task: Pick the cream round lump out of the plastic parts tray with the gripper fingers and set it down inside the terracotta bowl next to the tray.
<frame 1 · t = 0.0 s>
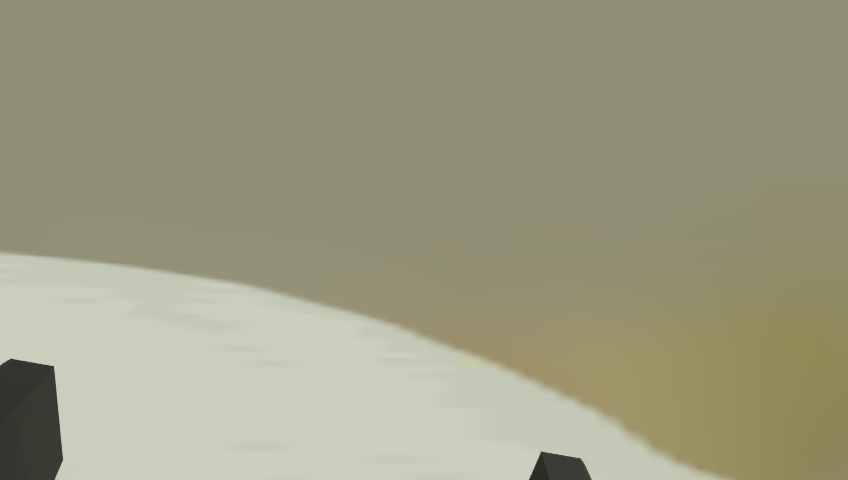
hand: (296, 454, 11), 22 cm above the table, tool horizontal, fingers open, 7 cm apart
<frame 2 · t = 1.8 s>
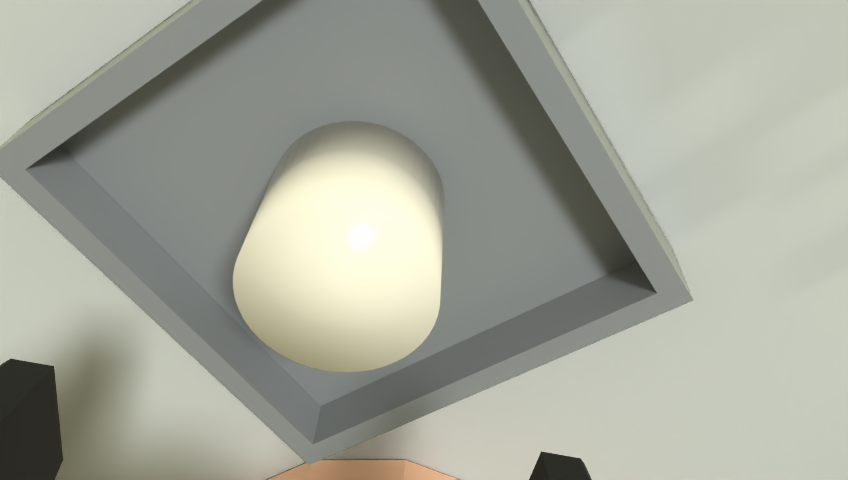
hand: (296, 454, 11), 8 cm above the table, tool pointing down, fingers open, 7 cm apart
cream round lump: (358, 200, 18), point 1 cm above the table, touching parts tray
parts tray: (361, 187, 18), on the table
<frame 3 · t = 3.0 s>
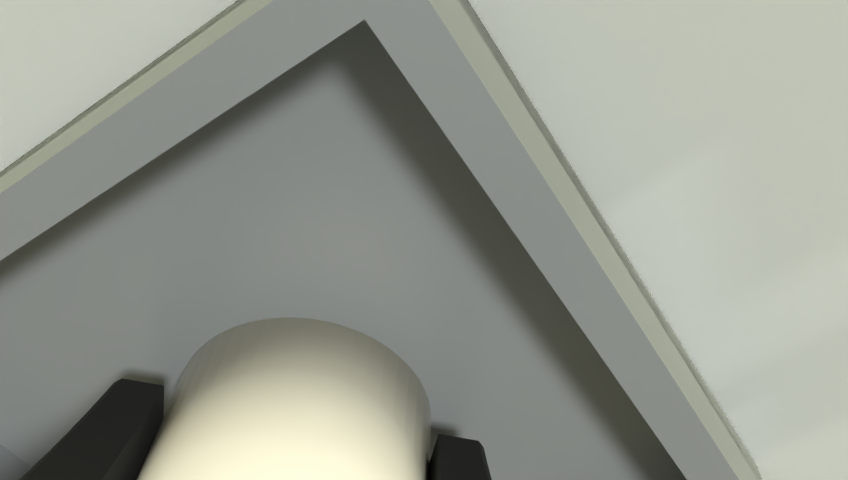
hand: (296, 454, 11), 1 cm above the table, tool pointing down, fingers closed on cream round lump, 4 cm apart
cream round lump: (305, 414, 12), point 1 cm above the table, touching gripper, parts tray
parts tray: (311, 387, 13), on the table
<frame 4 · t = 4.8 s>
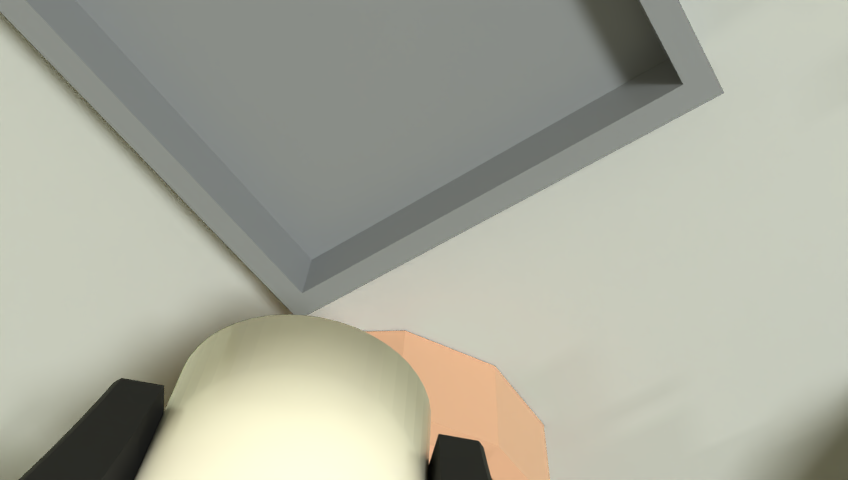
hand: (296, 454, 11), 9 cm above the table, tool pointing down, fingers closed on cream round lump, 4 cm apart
cream round lump: (305, 412, 12), point 8 cm above the table, touching gripper
bowl: (375, 458, 25), on the table
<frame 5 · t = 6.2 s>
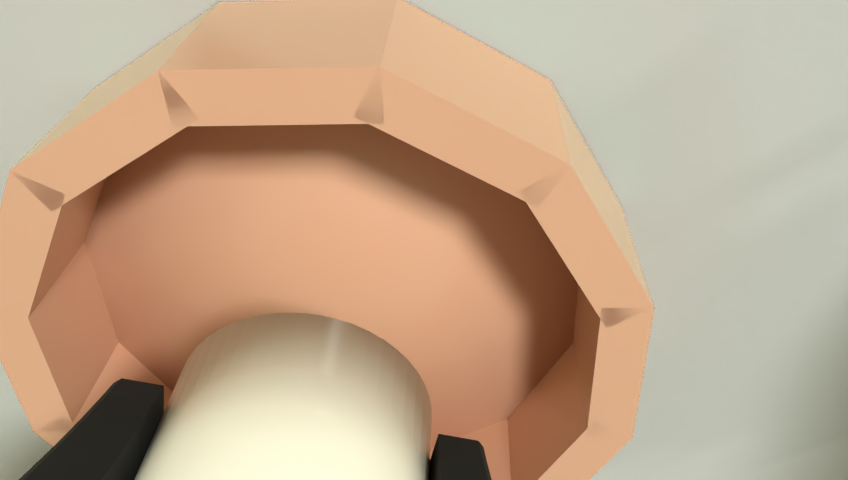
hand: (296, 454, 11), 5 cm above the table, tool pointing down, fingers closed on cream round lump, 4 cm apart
cream round lump: (305, 411, 12), point 4 cm above the table, touching gripper
bowl: (341, 269, 15), on the table
when the fingers open (3 cm above the table, at t = 6.9 s): cream round lump drops 1 cm, resting on bowl.
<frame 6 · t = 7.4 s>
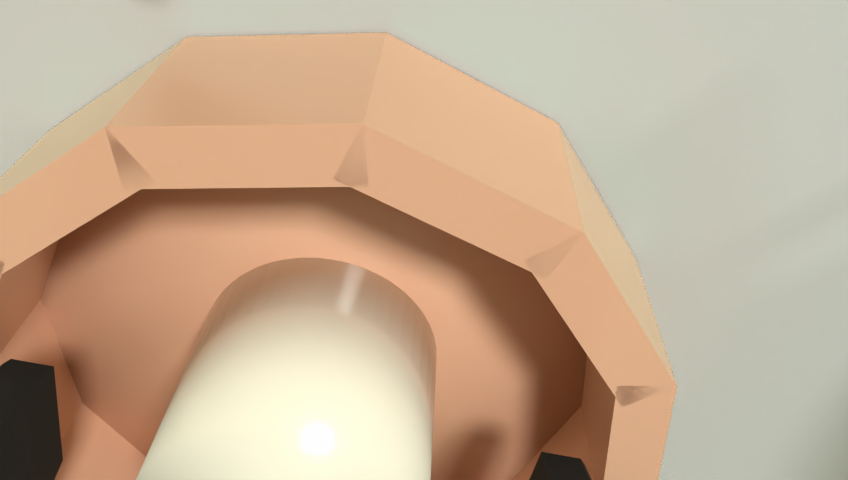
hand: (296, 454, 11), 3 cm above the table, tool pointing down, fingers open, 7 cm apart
cream round lump: (321, 351, 13), point 1 cm above the table, touching bowl
bowl: (326, 324, 14), on the table
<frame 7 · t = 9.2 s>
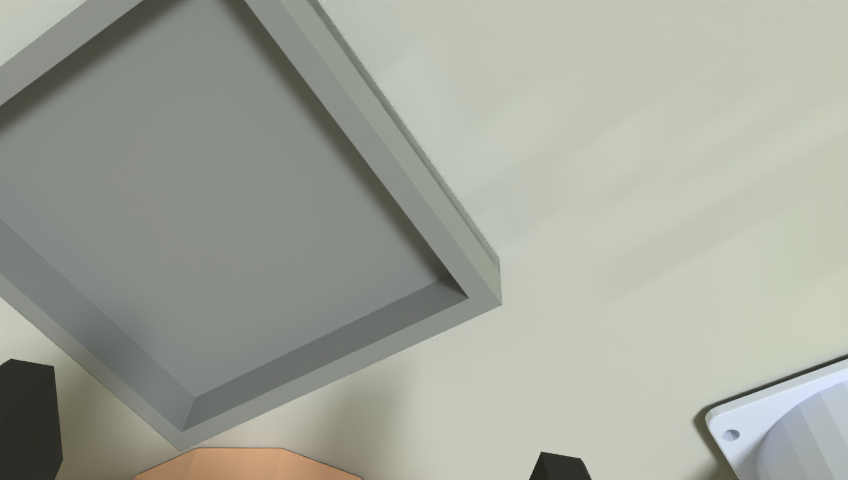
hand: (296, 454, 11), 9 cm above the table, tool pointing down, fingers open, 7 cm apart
parts tray: (214, 199, 20), on the table
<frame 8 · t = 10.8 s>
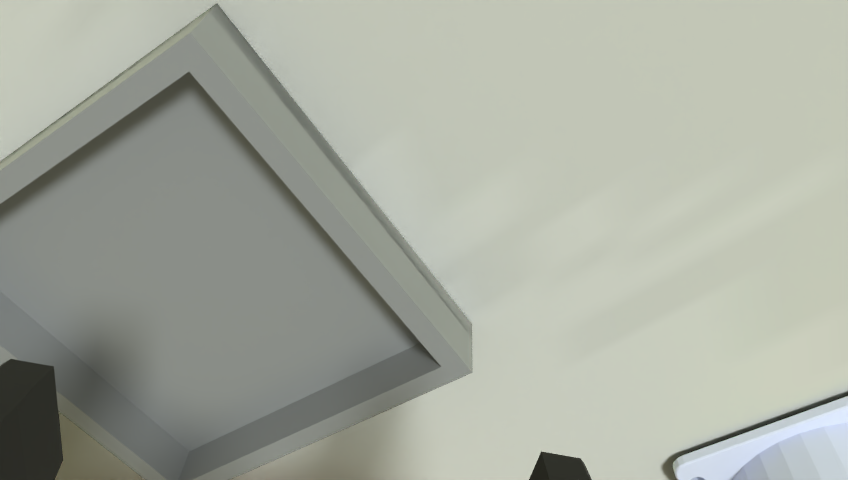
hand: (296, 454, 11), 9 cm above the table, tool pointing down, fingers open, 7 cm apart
parts tray: (203, 273, 21), on the table
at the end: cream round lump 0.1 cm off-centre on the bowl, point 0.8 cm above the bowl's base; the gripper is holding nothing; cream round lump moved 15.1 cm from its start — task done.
